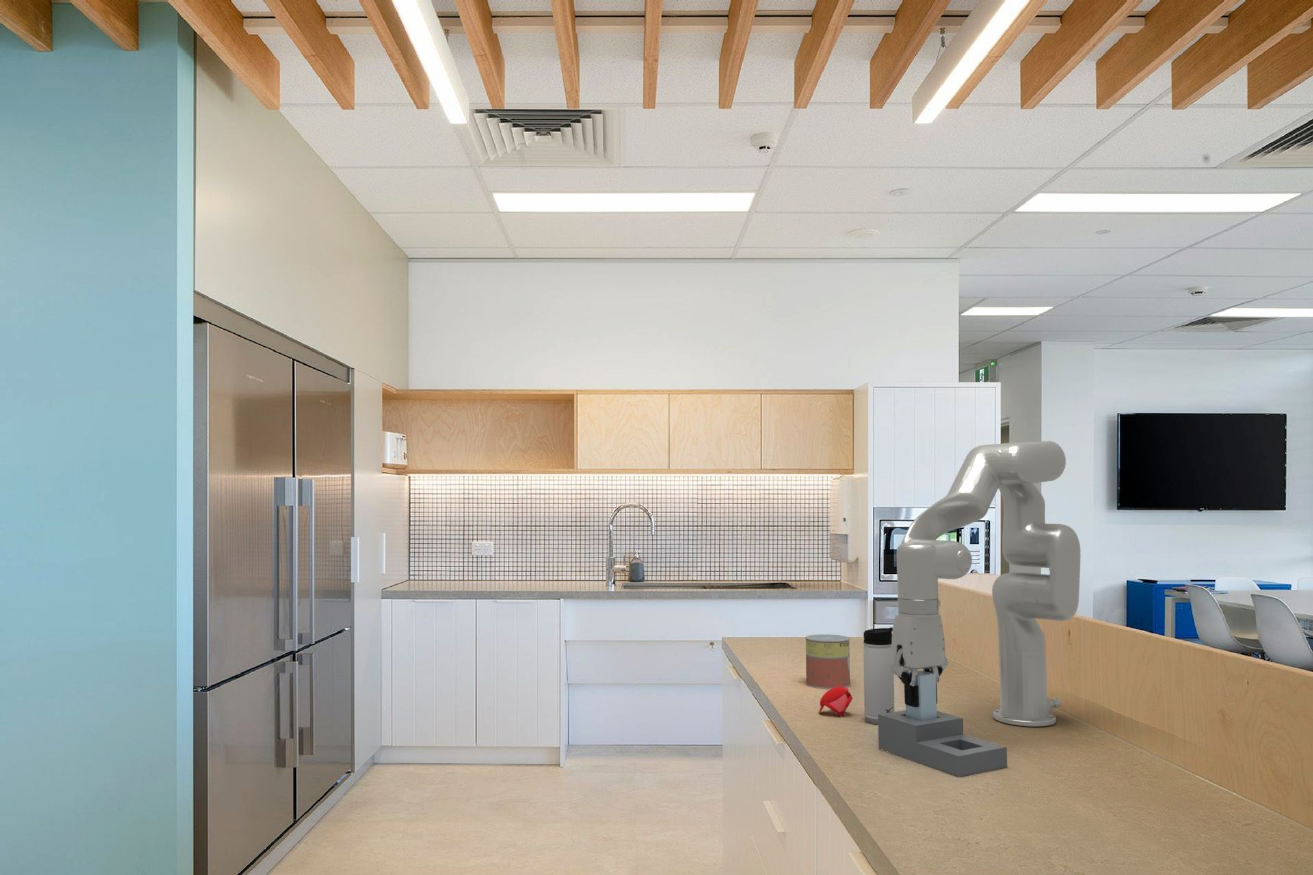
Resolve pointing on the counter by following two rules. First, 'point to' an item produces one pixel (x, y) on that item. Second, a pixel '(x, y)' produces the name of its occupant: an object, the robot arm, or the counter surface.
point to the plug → (924, 697)
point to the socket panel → (939, 744)
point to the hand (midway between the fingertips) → (920, 703)
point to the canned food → (827, 661)
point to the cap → (836, 700)
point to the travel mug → (878, 673)
